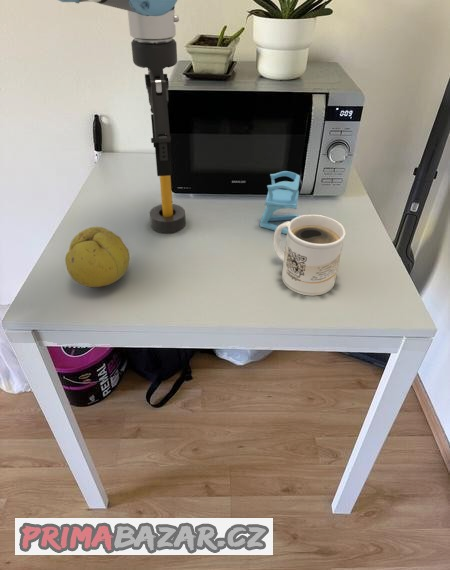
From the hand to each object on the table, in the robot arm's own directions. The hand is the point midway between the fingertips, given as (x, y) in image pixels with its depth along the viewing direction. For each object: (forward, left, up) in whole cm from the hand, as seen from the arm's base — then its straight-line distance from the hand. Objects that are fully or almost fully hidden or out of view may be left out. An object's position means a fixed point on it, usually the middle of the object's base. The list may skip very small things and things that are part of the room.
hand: (162, 160), depth 87 cm
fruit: (-13, -17, -15) cm, 27 cm away
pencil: (0, 0, -15) cm, 15 cm away
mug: (+24, -22, -15) cm, 36 cm away
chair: (+24, -4, -15) cm, 29 cm away
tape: (0, 0, -15) cm, 15 cm away
